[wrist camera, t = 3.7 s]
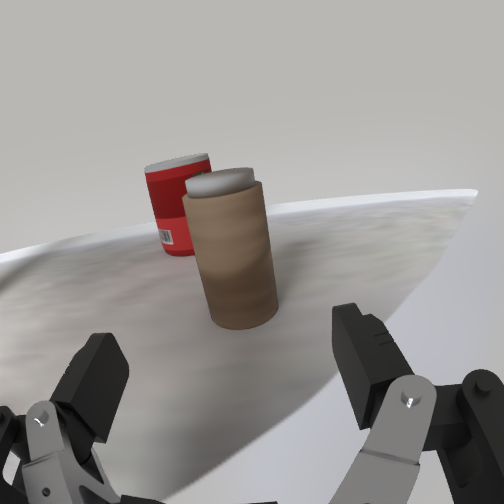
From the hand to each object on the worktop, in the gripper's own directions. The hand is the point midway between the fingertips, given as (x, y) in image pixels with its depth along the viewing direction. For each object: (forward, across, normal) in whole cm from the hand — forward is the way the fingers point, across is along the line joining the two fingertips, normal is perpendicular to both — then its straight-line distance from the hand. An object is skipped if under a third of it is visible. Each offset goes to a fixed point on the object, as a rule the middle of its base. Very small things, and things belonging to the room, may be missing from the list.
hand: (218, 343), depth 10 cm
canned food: (+27, +6, +6) cm, 28 cm away
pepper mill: (+11, 0, +6) cm, 12 cm away
